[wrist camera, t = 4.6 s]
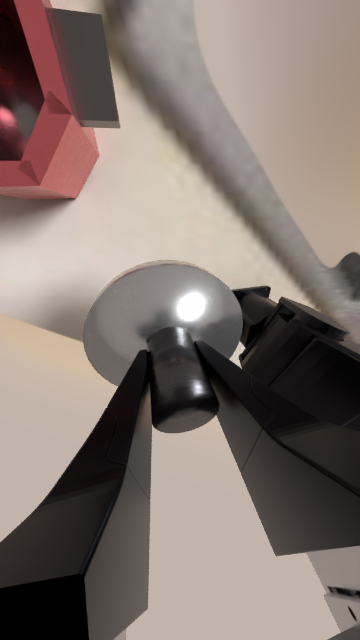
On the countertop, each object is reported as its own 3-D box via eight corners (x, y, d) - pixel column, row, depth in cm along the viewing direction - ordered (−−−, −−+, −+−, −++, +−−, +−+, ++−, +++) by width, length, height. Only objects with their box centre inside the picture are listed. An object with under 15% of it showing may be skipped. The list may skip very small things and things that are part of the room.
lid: (243, 252, 8) (349, 287, 4) (225, 367, 13) (265, 437, 9) (60, 269, 7) (-62, 344, 3) (113, 389, 12) (98, 484, 8)
